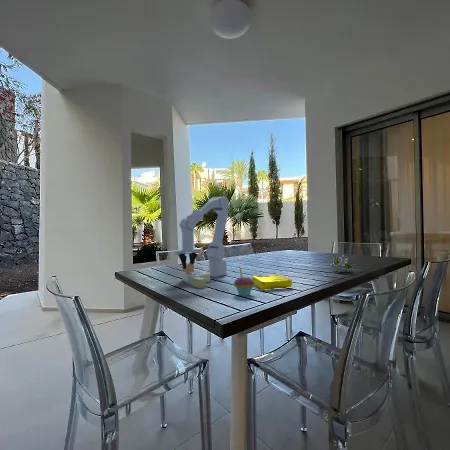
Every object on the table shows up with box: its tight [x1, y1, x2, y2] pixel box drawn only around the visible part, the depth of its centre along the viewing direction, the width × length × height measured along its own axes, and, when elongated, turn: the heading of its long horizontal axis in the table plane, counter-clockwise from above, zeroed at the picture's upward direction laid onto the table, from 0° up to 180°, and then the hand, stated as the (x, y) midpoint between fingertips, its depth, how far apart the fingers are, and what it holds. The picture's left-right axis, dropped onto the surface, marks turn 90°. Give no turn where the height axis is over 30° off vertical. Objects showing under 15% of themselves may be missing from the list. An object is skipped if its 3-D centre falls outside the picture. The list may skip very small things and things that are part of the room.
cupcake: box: [233, 267, 255, 297], centre depth 123 cm, size 9×8×12 cm
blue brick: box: [187, 274, 203, 286], centre depth 144 cm, size 6×4×4 cm, turn 134°
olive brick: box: [191, 277, 207, 289], centre depth 138 cm, size 6×4×4 cm, turn 41°
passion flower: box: [329, 254, 355, 270], centre depth 175 cm, size 11×11×12 cm
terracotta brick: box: [181, 262, 195, 273], centre depth 150 cm, size 6×4×4 cm, turn 34°
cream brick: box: [202, 271, 211, 283], centre depth 151 cm, size 6×4×4 cm, turn 4°
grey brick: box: [181, 272, 195, 283], centre depth 150 cm, size 6×4×4 cm, turn 34°
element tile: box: [251, 273, 293, 290], centre depth 138 cm, size 15×15×5 cm
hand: (188, 268), depth 150 cm, fingers closed on terracotta brick, 3 cm apart
